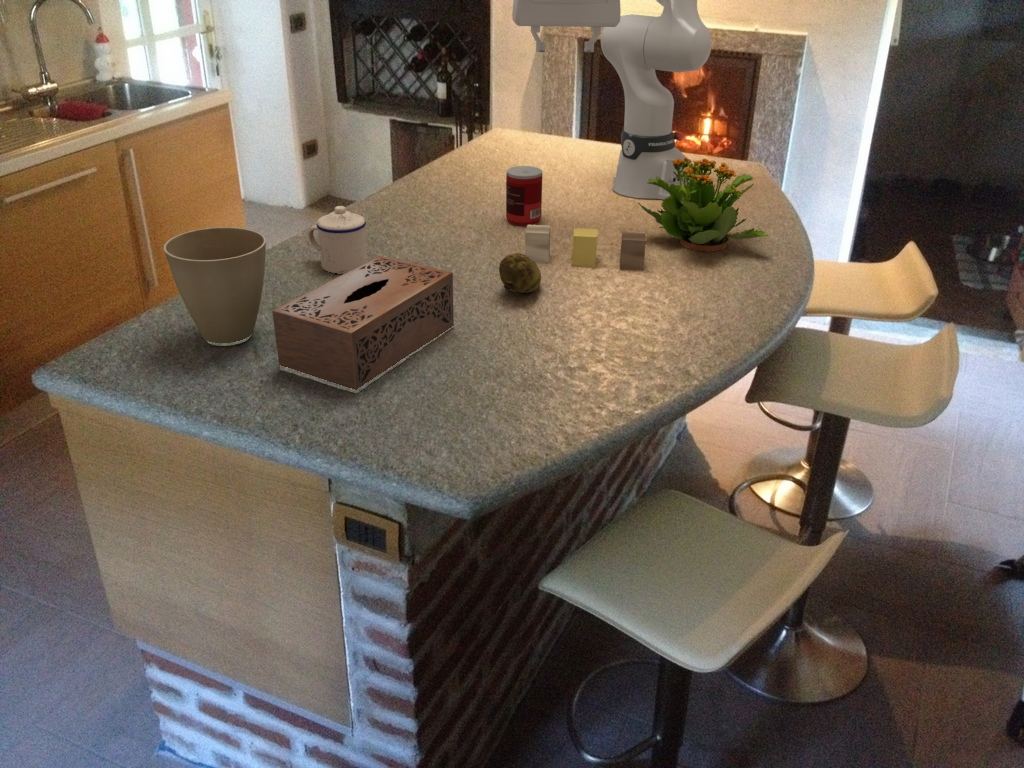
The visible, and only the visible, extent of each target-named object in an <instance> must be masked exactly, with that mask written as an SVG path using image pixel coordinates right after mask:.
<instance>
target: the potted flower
mask: <svg viewBox="0 0 1024 768" xmlns="http://www.w3.org/2000/svg"><path fill="white" fill-rule="evenodd" d="M686 157H687V156H686ZM686 157H685V158H684V159H683V160H681V159H677V160H672V162H673V166H674V168H675V169H676V170H677V172H678V175H677V174H676V173H675V172H674V171H673V173H674V174H675V175H676V176H677V177H678V178H679V181H680V185H675V184H671V185H670V186H669V185H668V183H667V182H666V183H665V181H663V180H662V179H661V178H660V177H659V176H656V180H657V181H656V180H655V179H650V178H649V179H648V180H649V182H647V183H648V184H653V185H657V186H659V187H661V188H663V189H665V190H666V191H667V192H669V193H670V196H669V197H668V198H666V199H662V202H661V204H660V205H661V207H662V208H663V209H660V210H659V209H657V210H656V211H652V210H651V209H650V208H647V207H646V206H645V205H642V204H641V203H640V202H637V204H638V205H639V206H640V208H642V210H644V211H645V213H647V214H649V215H650V216H652V217H653V218H654V220H655V221H656V223H658V225H659V224H660V225H661V226H662V227H661V226H659V229H664V230H665V232H666V233H667V234H668V235H669V236H671V237H672V238H675V239H678V240H679V242H680V244H681V245H682V246H683V247H684V248H687V249H689V250H693V251H698V252H711V253H712V252H717V251H721V250H723V249H725V248H726V247H727V244H728V242H729V239H733V240H744V239H753V238H761V237H768V236H769V234H765V233H766V232H765V231H763V230H760V229H759V230H758V229H756V230H755V227H753V228H750V229H746V230H743V231H741V232H735V233H732V234H731V233H729V232H730V231H731V230H732V229H733V228H735V227H737V226H740V225H742V223H745V221H747V219H748V218H747V217H746V218H743V219H742V220H741V221H739V222H738V215H739V210H740V208H739V207H737V209H735V207H734V206H733V205H734V204H735V203H736V202H737V200H739V199H740V197H742V196H743V194H745V193H746V192H747V191H748V190H750V189H751V188H752V187H753V186H754V183H751V185H749V186H747V187H746V188H744V189H739V186H741V185H742V184H744V183H747V182H750V181H753V179H754V176H752V175H750V174H746V173H742V174H741V175H737V173H735V170H734V169H731V168H730V167H729V166H730V165H728V164H727V163H726V162H721V163H720V164H721V165H720V166H718V167H716V164H717V161H715V160H709V159H707V158H704V157H703V158H702V160H701V159H699V160H694V159H693V160H691V159H689V158H688V157H687V158H686ZM690 162H691V163H690ZM689 163H690V164H689ZM688 165H689V166H688ZM681 167H682V170H681V172H680V171H679V170H680V168H681ZM685 167H687V168H686V169H685V170H683V169H684V168H685ZM682 172H683V174H682ZM712 172H714V173H715V175H716V177H717V179H716V182H717V183H716V184H714V181H713V178H712V177H710V175H711V174H712ZM682 177H684V181H683V178H682ZM732 177H735V179H734V180H733V181H732V183H731V184H730V183H729V184H727V185H725V188H724V189H723V190H722V191H721V190H720V189H721V187H722V184H724V183H726V182H727V180H729V181H731V179H732ZM685 178H686V181H687V186H686V185H685V182H686V181H685ZM692 178H693V179H692ZM681 180H682V181H683V183H684V187H683V186H682V183H681ZM688 180H690V182H688ZM715 187H716V188H715ZM737 222H738V223H737Z"/></svg>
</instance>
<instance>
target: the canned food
mask: <svg viewBox="0 0 1024 768" xmlns="http://www.w3.org/2000/svg"><path fill="white" fill-rule="evenodd" d="M505 180H506V181H505V186H506V187H505V190H506V192H505V198H506V199H505V216H506V217H505V218H506V221H507V223H509V224H510V225H513V226H517V225H518V227H527V225H534V224H535V225H538V224H539V223H540V221H541V219H542V207H543V206H542V200H543V170H542V169H540V168H539V167H535V166H529V165H519V166H512V167H510V168H508V169H507V170H506V179H505Z"/></svg>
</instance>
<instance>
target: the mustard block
mask: <svg viewBox="0 0 1024 768" xmlns="http://www.w3.org/2000/svg"><path fill="white" fill-rule="evenodd" d="M573 229H574V230H573V235H572V236H573V237H572V256H571V266H572V265H573V267H574V266H576V267H591V266H593V268H596V263H597V248H598V246H597V245H598V233H599V230H598V229H597V228H596V229H595V228H578V227H574V228H573Z"/></svg>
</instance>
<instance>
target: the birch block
mask: <svg viewBox="0 0 1024 768" xmlns="http://www.w3.org/2000/svg"><path fill="white" fill-rule="evenodd" d="M551 230H552V228H551V225H546V224H545V225H541V224H539V225H538V224H535V225H527V226H526V230H525V233H524V234H525V238H524V240H525V241H524V243H525V244H524V255H526V256H527V257H529V258H530V259H531V260H533V261H534V262H535V263H541V262H544V263H545V264H549V259H550V253H551ZM544 263H543V264H544Z"/></svg>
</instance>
